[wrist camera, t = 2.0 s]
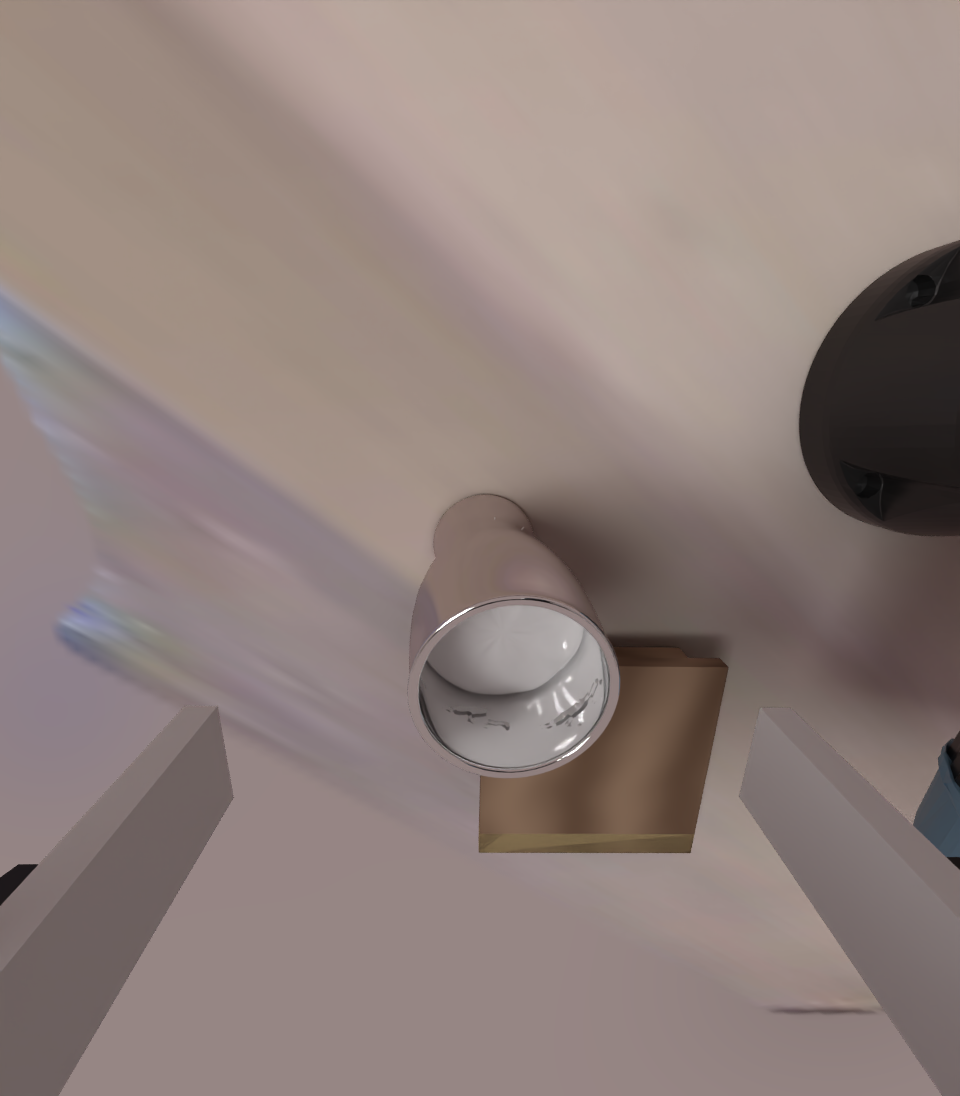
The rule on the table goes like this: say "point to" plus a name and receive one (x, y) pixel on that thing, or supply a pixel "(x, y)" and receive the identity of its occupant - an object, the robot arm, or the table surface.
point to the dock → (620, 769)
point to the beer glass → (506, 648)
